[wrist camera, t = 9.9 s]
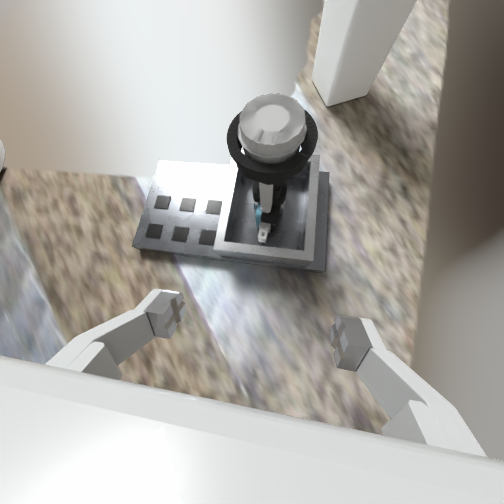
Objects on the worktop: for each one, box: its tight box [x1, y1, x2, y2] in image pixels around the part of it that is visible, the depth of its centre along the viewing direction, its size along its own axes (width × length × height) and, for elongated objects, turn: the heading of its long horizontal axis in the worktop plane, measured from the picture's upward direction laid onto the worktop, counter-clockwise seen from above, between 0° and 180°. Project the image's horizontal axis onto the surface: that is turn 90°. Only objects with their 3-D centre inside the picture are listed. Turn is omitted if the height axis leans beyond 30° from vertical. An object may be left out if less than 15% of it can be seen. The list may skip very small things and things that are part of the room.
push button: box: [227, 94, 318, 243], centre depth 15 cm, size 7×5×10 cm
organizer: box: [132, 151, 329, 273], centre depth 19 cm, size 20×11×4 cm, turn 82°
